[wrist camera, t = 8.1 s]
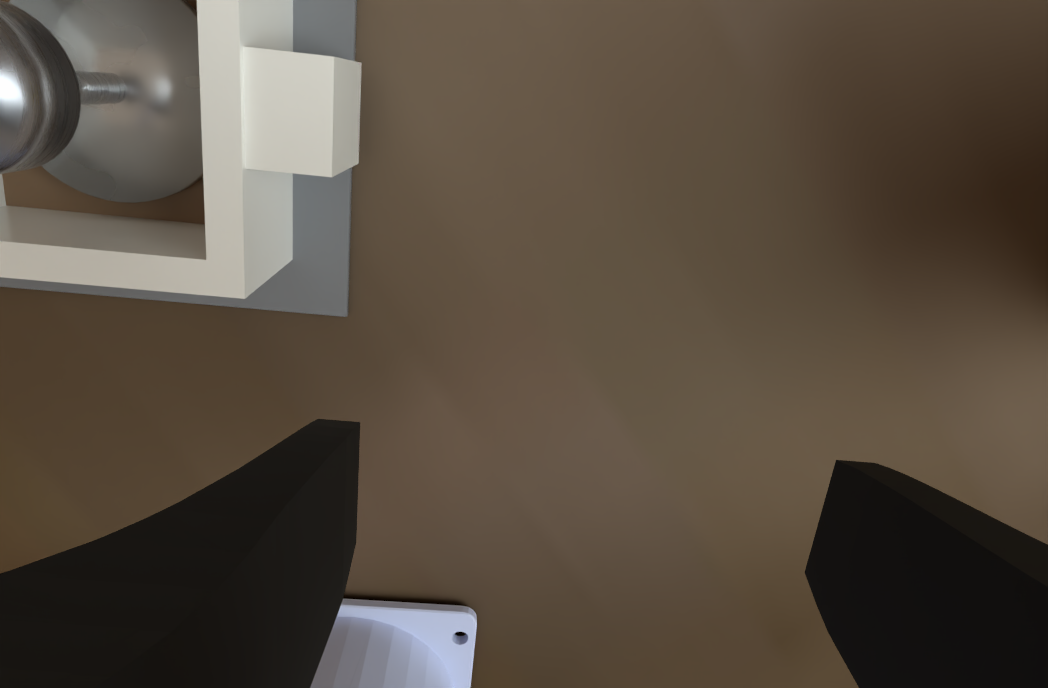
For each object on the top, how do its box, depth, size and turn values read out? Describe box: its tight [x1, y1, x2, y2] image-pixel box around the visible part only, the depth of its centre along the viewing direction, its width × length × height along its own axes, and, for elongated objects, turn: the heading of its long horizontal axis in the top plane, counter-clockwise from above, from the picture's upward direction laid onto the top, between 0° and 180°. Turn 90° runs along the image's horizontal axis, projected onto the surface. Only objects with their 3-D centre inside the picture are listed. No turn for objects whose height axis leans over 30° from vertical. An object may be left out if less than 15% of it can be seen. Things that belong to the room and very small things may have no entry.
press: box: [0, 0, 362, 317], centre depth 16 cm, size 11×11×4 cm
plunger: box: [0, 0, 203, 203], centre depth 15 cm, size 5×5×6 cm
